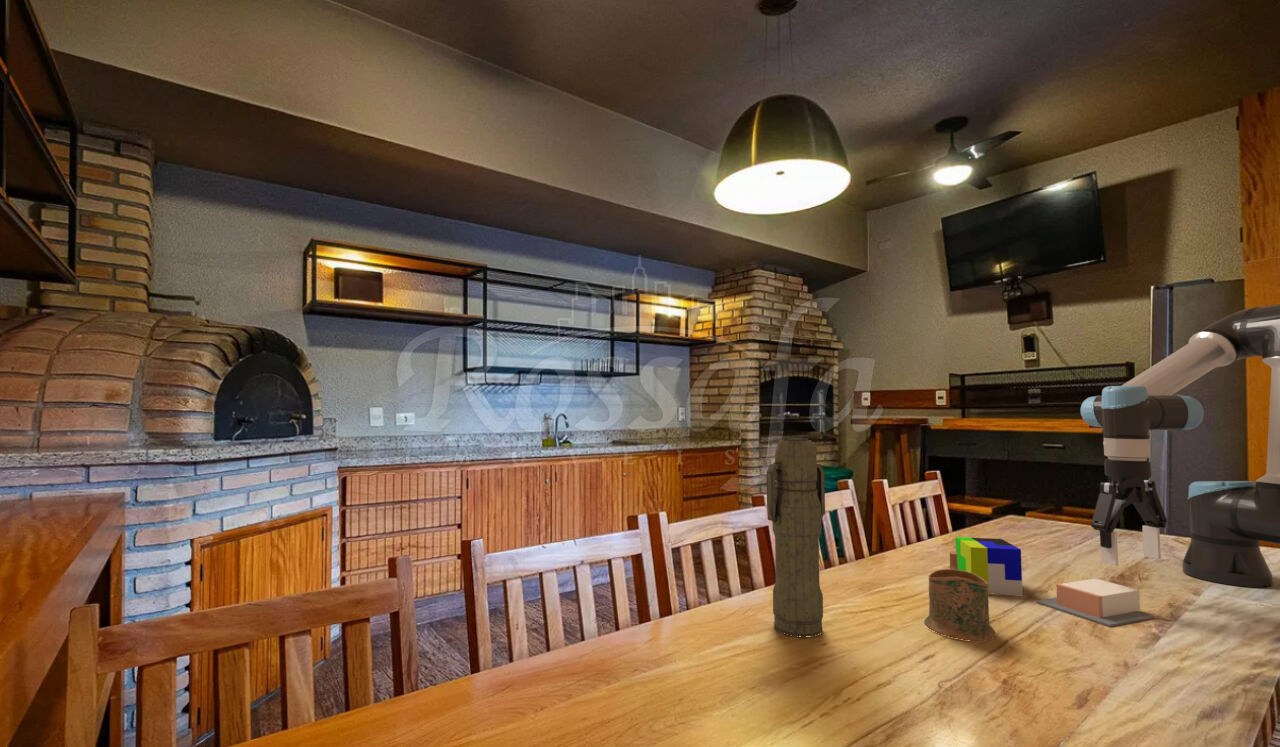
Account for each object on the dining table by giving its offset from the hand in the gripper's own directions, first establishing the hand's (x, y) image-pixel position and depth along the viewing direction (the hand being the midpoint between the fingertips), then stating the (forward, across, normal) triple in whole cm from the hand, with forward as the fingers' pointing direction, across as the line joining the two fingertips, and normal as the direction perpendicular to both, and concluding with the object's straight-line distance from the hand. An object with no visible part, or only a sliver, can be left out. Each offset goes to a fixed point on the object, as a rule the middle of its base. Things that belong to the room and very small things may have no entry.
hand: (1131, 560), depth 121 cm
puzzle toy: (+9, +19, -18) cm, 28 cm away
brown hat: (+9, +44, -4) cm, 45 cm away
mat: (+9, +12, 0) cm, 15 cm away
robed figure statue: (+9, +74, -12) cm, 75 cm away
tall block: (+6, +5, 0) cm, 8 cm away
